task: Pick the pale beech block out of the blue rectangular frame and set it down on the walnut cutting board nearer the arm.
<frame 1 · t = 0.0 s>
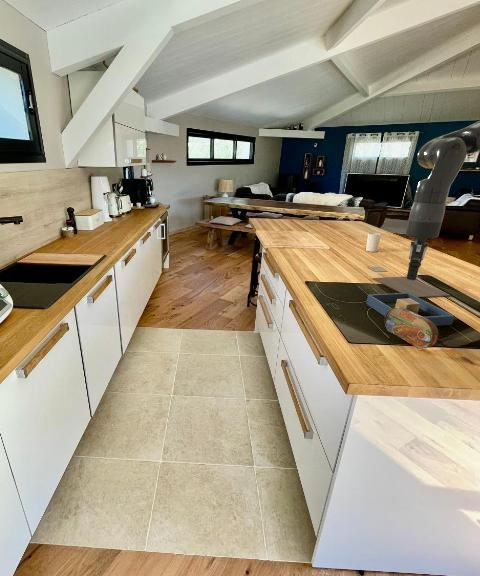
hand: (411, 275, 91), 17 cm above the table, tool pointing down, fingers open, 8 cm apart
block: (405, 314, 104), resting on blue rectangular frame
tin: (406, 340, 89), on the table
board: (407, 289, 126), on the table
blue rectangular frame: (405, 315, 104), on the table
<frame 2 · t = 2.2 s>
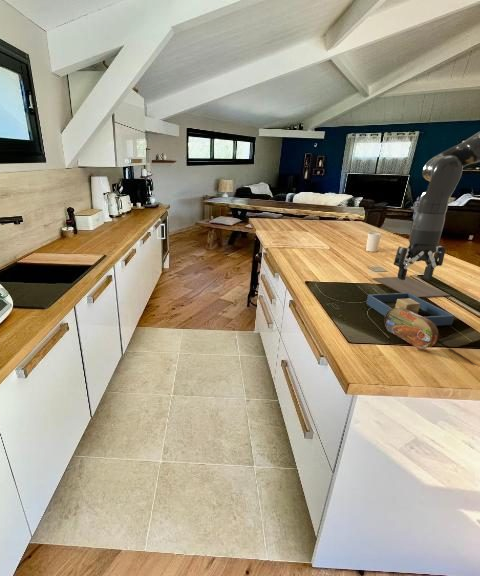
hand: (414, 278, 99), 13 cm above the table, tool pointing down, fingers open, 8 cm apart
nothing on the table moved.
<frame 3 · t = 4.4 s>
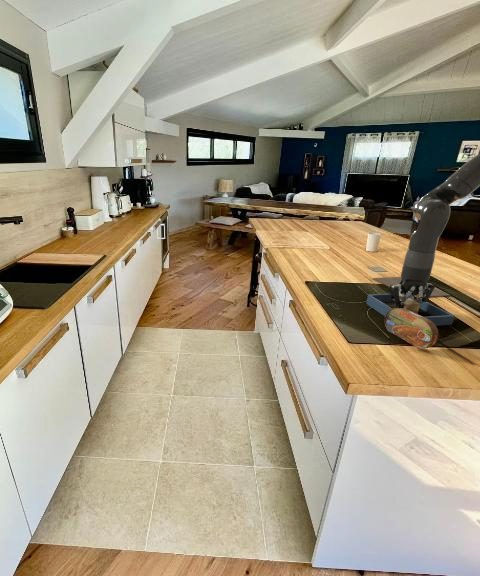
hand: (405, 313, 104), 1 cm above the table, tool pointing down, fingers closed on block, 4 cm apart
block: (405, 314, 104), resting on blue rectangular frame, touching gripper
everything else where it was.
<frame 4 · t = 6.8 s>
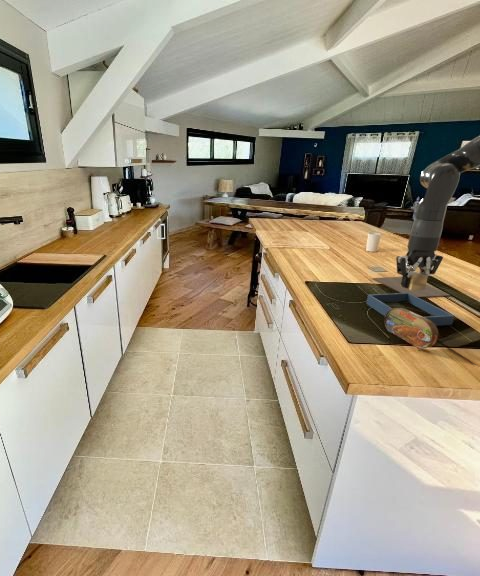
hand: (412, 286, 100), 10 cm above the table, tool pointing down, fingers closed on block, 4 cm apart
block: (412, 287, 100), point 10 cm above the table, touching gripper
everything else where it was.
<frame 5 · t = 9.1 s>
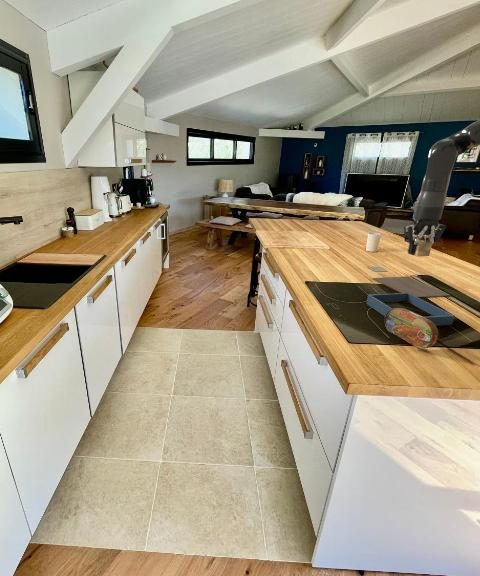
hand: (418, 253, 111), 17 cm above the table, tool pointing down, fingers closed on block, 4 cm apart
block: (418, 254, 111), point 17 cm above the table, touching gripper
everything else where it was.
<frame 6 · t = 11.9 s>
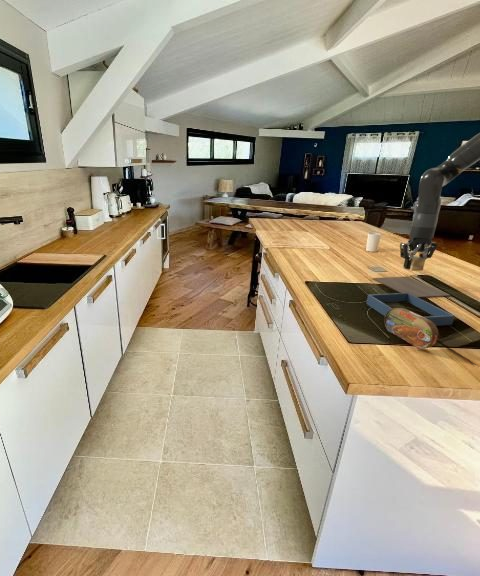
hand: (412, 268, 123), 9 cm above the table, tool pointing down, fingers closed on block, 4 cm apart
block: (412, 269, 123), point 9 cm above the table, touching gripper
everything else where it was.
when the fingers open (2 cm above the table, at t = 14.0 s): block stays where it is, resting on board.
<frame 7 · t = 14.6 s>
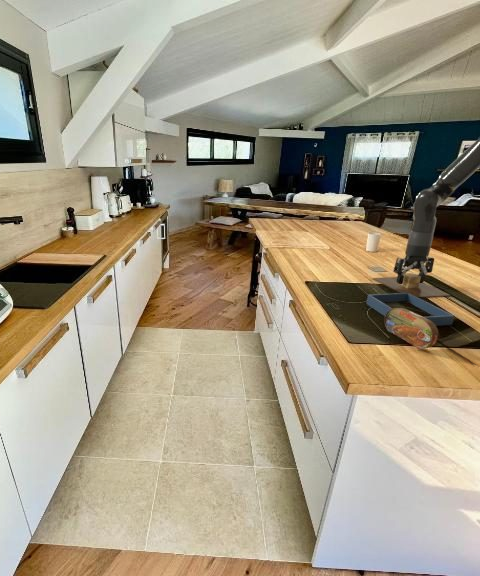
hand: (409, 283, 125), 3 cm above the table, tool pointing down, fingers open, 8 cm apart
block: (408, 285, 125), point 1 cm above the table, touching board
everything else where it was.
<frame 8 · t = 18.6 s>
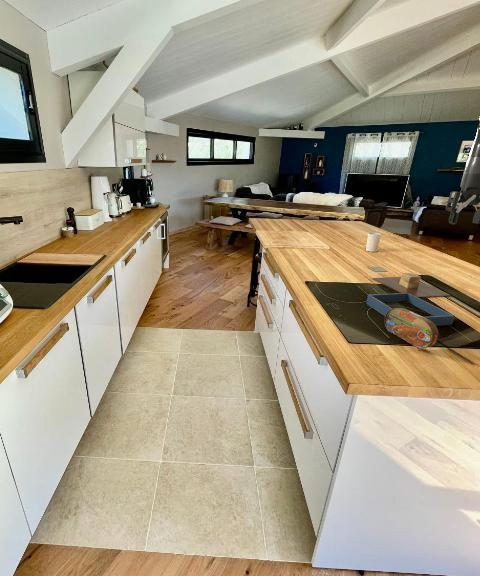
hand: (464, 223, 105), 28 cm above the table, tool pointing down, fingers open, 8 cm apart
nothing on the table moved.
at the end: block inside the target area on the board (0.1 cm from its centre), point 1.5 cm above the board's base; block inside the target area (0.1 cm from its centre), point 1.5 cm above the table; the gripper is holding nothing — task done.
